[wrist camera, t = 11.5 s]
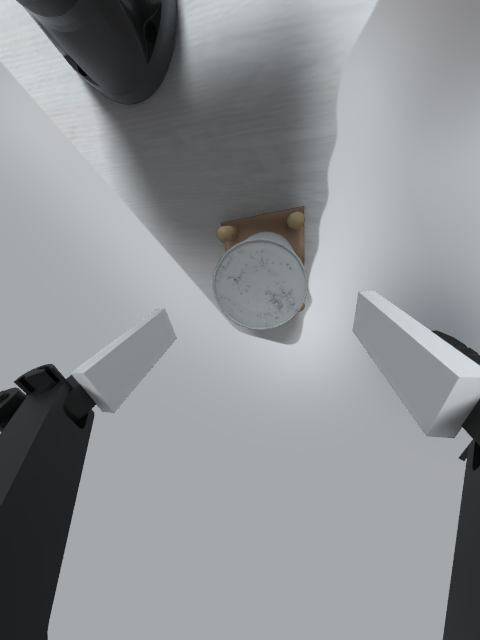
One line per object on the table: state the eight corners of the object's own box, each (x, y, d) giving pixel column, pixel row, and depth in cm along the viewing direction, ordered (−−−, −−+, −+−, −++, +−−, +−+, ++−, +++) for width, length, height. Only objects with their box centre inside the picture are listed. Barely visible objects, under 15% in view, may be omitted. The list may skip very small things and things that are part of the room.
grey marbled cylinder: (250, 300, 32) (238, 339, 21) (225, 249, 28) (195, 266, 18) (303, 279, 28) (320, 313, 18) (282, 218, 25) (287, 216, 14)
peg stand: (223, 222, 28) (210, 223, 22) (302, 207, 26) (310, 202, 20) (238, 302, 35) (230, 319, 29) (302, 297, 32) (308, 314, 26)
